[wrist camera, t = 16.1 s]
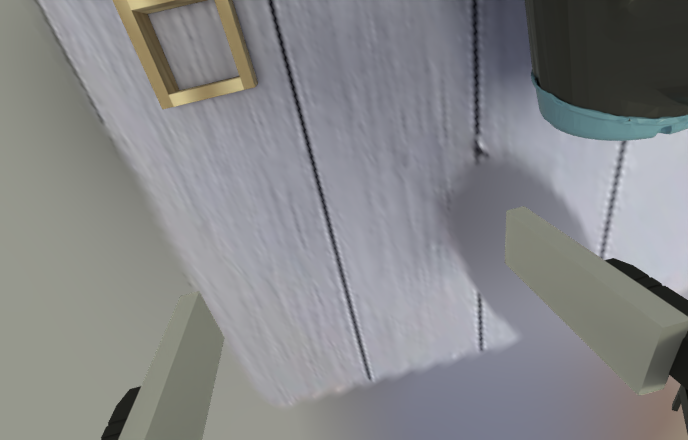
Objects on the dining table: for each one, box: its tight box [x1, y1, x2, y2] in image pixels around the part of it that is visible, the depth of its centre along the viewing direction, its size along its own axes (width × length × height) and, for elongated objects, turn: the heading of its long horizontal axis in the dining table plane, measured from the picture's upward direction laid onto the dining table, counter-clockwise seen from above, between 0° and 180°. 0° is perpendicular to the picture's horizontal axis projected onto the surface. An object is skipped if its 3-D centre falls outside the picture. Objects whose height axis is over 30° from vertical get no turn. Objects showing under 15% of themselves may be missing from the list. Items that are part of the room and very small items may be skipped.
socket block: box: [113, 0, 258, 109], centre depth 35 cm, size 10×10×4 cm
